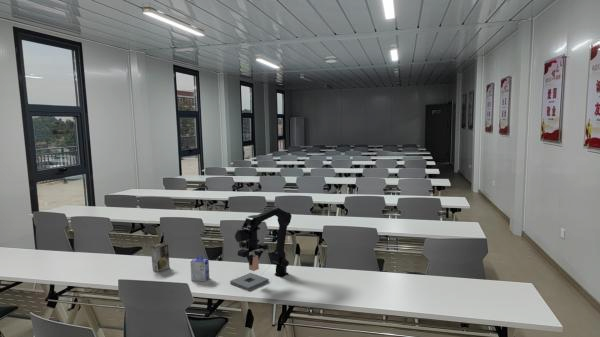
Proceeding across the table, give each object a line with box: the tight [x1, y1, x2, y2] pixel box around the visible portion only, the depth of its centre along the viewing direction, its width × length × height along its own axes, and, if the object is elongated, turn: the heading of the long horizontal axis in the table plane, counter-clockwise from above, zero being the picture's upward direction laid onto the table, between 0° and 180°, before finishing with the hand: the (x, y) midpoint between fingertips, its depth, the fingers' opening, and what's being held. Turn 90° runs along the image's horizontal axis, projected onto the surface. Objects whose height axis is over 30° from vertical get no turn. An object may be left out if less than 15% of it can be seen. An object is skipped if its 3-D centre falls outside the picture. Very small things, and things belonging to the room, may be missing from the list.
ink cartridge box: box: [189, 255, 210, 282], centre depth 238 cm, size 10×6×14 cm, turn 78°
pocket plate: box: [229, 272, 270, 292], centre depth 232 cm, size 16×16×2 cm
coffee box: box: [150, 242, 171, 273], centre depth 257 cm, size 9×6×16 cm
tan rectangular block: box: [248, 253, 260, 272], centre depth 227 cm, size 4×4×8 cm
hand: (253, 264), depth 227 cm, fingers closed on tan rectangular block, 4 cm apart
